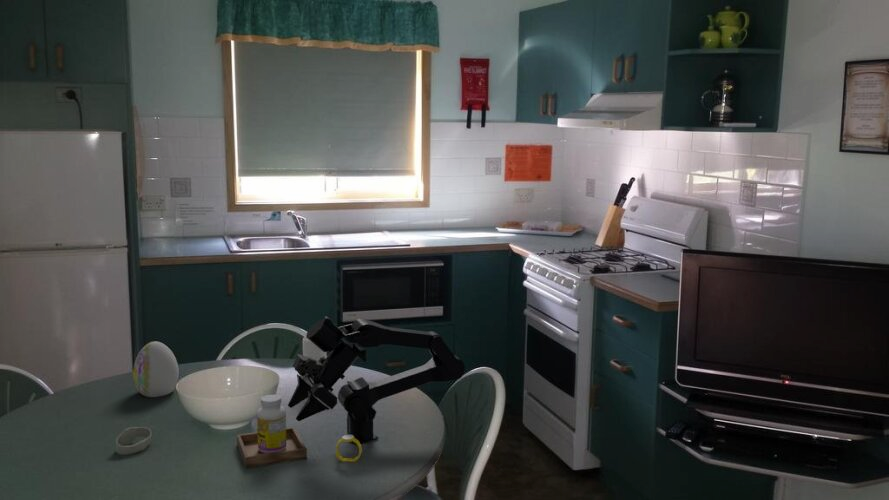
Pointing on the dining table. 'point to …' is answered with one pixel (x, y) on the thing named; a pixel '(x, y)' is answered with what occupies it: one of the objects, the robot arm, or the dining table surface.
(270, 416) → the supplement bottle
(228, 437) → the dining table surface
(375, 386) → the robot arm
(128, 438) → the grey hollow oval piece
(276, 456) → the walnut tray
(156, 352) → the decorative egg
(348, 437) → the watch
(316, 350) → the drinking glass
